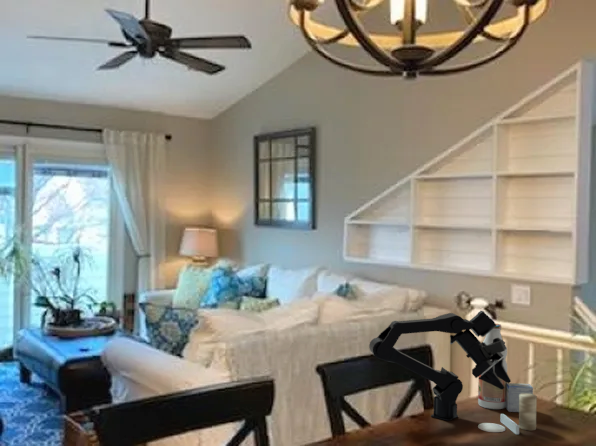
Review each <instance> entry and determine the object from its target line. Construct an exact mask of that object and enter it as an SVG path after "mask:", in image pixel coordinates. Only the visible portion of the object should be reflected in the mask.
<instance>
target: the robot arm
mask: <svg viewBox="0 0 596 446" xmlns="http://www.w3.org/2000/svg"><path fill="white" fill-rule="evenodd" d="M496 324H497V323H496V322H495V321H494V320H493V319H492V318H491V317H490V316H489V315H488V314H487V313H486V312H485V311H483V310H480V311H478V313H476V315H475V316H474V317H472V318H471V319H470V320H469V319H466V318H463V317H461V316H460V315H457V314H455V313H453V312H449V313H444V314H440V315H438V316H436V317H432V318H423V319H411V320H410V319H409V320H393V321H392V322H391V323H390V324H389V325H388V326H387V327H386V328H385V329H384V330H383V331H382V332H380V334H378V336H377V337H374V338H372V339H371V340H370V342H369V345H368V347H369V348H368V349H369V351H370V352H371V353H372V355H373V356H374V357H375V358H377V359H379V360H382V361H385V362H389V363H394V364H397V365H399V366H400V367H403V368H405V369H406V370H409V371H411V372H413V373H415V374H416V375H419V376H421V377H422V378H424V379H427V380H428V381H431V382H432V383H434V386H433V388H432V391H433V395H434V396H433V413H432V414H431V415H430V417H431V418H434V419H435V418H436V419H440V420H444V421H449V422H450V421H451V420H454V419H455V418H456V419H457V418H458V416H459V415H458V404H457V399H458V397H459V394H461V393H462V391H463V386H464V385H463V382H462V381H461V380H460V379H459V376H458V375H457V374H456V373H455V372H453V371H449V370H447V369H445V367H443V366H442V367H441V369H440V370H438V369H434V368H433V367H431V366H429V365H427V364H424V363H423V362H421V361H419V360H417V359H415V358H413V357H411V356H409V355H408V354H405V353H403V352H401V351H400V350H398V349H397V348H396V347H395V345H396V344H397V342H398V341H399V338H400V337H401V335H404V334H405V335H406V334H417V333H429V332H431V333H432V332H439V333H440V332H441V333H445V334H450V335H449V339H450V341H449V344H450V345H453V344H454V343H457V344H458V345H459V347H461V349H462V350H463V351H464V352H465V353H466V357H467V358H468V359H469V358H470V359H471V360H472V361H473V362H474V364H475V365H474V366H475V367H473V368H472V369H471V374H472V376H474V378H475V379H477V378H478V380H479V379H481V380H483V381H485V382H487V383H490V384H492V385H494V386H496V387H498V388H500V389H504V388H505V387H504V385H503V384H502V382H501V381H500V379H499V378H501V379H502V380H504V381H505V382H507V383H512V381H511V377H510V376H509V374H508V371H507V372H506V371H505V369H504V366H503V360H504V358H502V357H503V355H502V354H501V352H503V351H505V349H506V347H507V345H506V342H505V341H504V340H503V338H502V340H501V339H500V338H495V339H493V343H491V344H488V345H486V344H485V343H483V341H482V342H481V341H480V340H479V339H478V338H479V337H482V338H483V337H484V338H485V337H486V334H488V333H489V332H490V331H491V330H492V329H494V328H495V327H496ZM451 334H452V335H451ZM453 334H454V335H453ZM477 337H478V338H477ZM505 345H506V346H505ZM500 358H502V359H501V360H499V359H500ZM480 375H481V377H479V376H480ZM498 377H499V378H498Z"/></svg>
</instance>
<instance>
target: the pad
mask: <svg viewBox="0 0 596 446" xmlns="http://www.w3.org/2000/svg"><path fill="white" fill-rule="evenodd" d="M477 427H478V429H479V430H481V431H484V432H489V433H503V432H505V431H506V426H505V425H503V424H502V425H501V424H499V423H492V422H482V423H479V424H478V426H477Z"/></svg>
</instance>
